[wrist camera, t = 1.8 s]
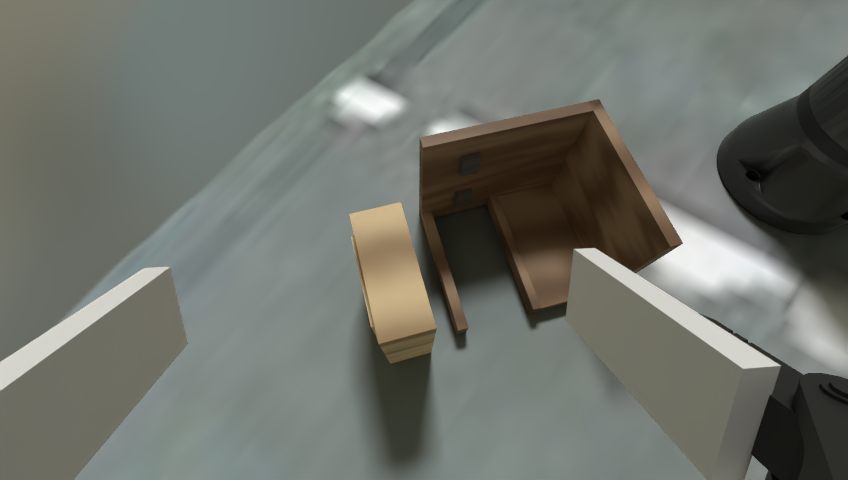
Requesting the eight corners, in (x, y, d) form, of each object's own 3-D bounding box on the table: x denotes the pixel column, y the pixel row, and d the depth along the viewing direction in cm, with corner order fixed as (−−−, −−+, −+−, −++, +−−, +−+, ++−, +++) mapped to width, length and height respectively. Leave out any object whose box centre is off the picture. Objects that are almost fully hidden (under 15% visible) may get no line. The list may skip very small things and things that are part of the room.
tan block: (431, 352, 37) (436, 328, 26) (387, 364, 37) (374, 345, 26) (405, 257, 41) (400, 202, 30) (365, 267, 41) (345, 215, 30)
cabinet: (603, 293, 40) (683, 243, 28) (456, 334, 38) (473, 299, 26) (551, 181, 45) (599, 99, 33) (419, 212, 43) (419, 137, 31)
